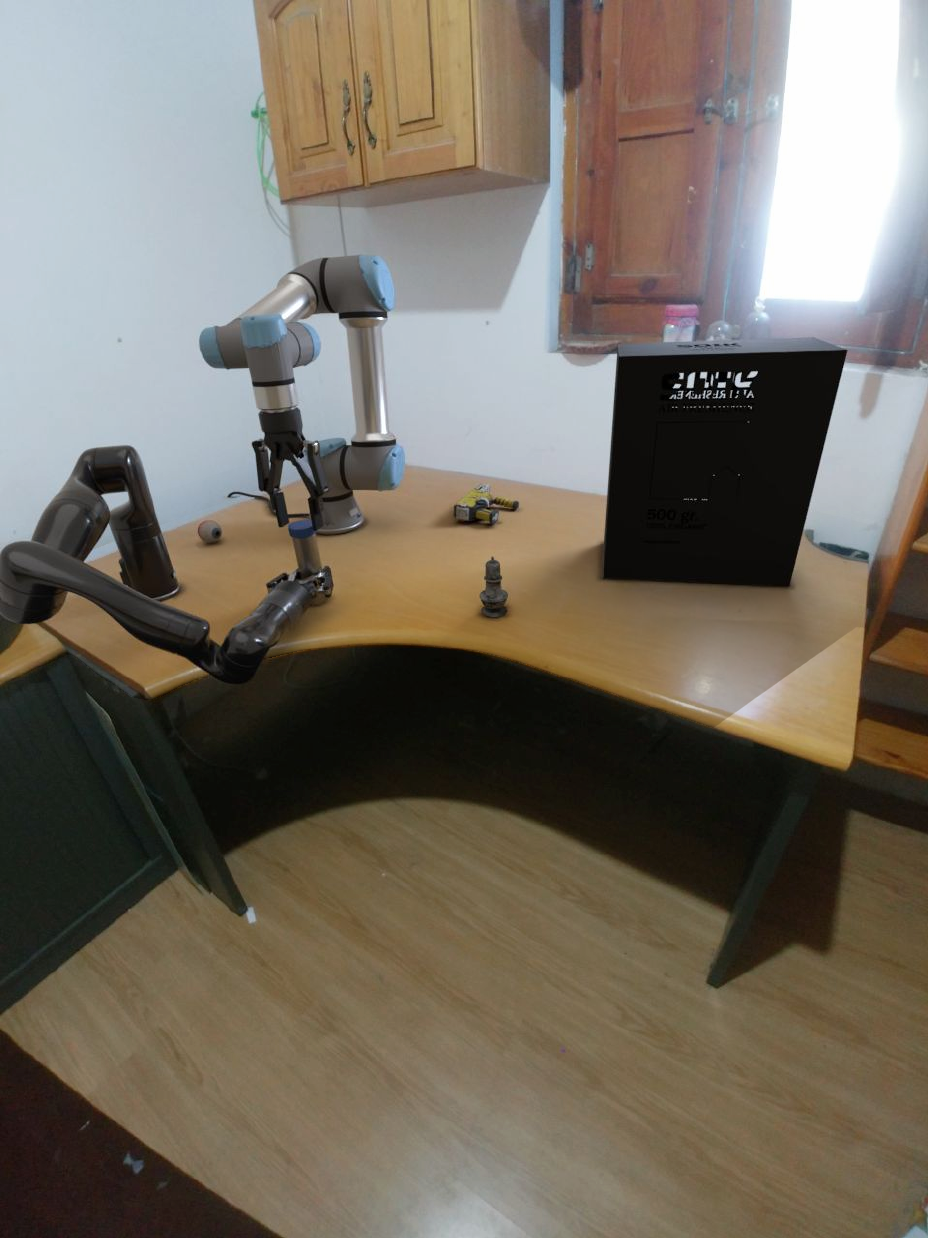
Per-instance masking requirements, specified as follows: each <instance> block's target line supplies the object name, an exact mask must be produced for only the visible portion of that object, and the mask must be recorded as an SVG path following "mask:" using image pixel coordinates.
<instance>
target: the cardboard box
mask: <svg viewBox="0 0 928 1238" xmlns="http://www.w3.org/2000/svg"><path fill="white" fill-rule="evenodd" d="M848 351H849V350H848V349H847V348H844V347H841V346H838V345H836V344H833V343H830V342H828V341H824V340H822V339H819V338H816V337H813V336H812V337H809V336H808V337H787V338H786V337H785V338H784V337H783V338H753V339H752V338H750V339H749V338H748V339H721V340H719V339H717V340H691V341H690V340H688V341H660V342H631V343H630V342H629V343H628V342H627V343H625V342H624V343H617V348H616V361H615V362H616V363H615V376H614V377H615V378H614V379H615V380H614V391H613V404H612V405H613V406H612V408H613V409H612V418H611V419H612V421H611V434H610V435H611V437H610V449H609V462H608V463H609V464H608V476H607V477H608V478H607V489H606V490H607V492H606V504H605V506H606V507H605V521H604V533H603V534H604V535H603V559H602V560H603V561H602V562H603V566H602V573H603V574H602V579H606V580H612V579H613V580H630V581H631V580H632V581H650V582H651V581H655V582H677V583H697V584H698V583H699V584H720V585H721V584H722V585H723V584H724V585H742V586H767V587H768V586H769V587H787V588H789V587H790V586H791V582H792V578H793V573H794V569H795V566H796V562H797V558H798V557H797V556H798V554H799V550H800V546H801V541H802V538H803V534H804V529H805V525H806V521H807V517H808V514H809V509H810V505H811V501H812V497H813V493H814V488H815V485H816V480H817V476H818V472H819V468H820V464H821V461H822V456H823V452H824V447H825V444H826V440H827V436H828V431H829V428H830V423H831V419H832V415H833V411H834V408H835V403H836V399H837V395H838V391H839V387H840V382H841V379H842V375H843V371H844V367H845V363H846V359H847V354H848ZM753 372H757V373H756V375H754V376H751V377H749V376H750V375H751V373H753ZM702 373H706V377H701V375H702ZM717 373H718V374H717ZM729 373H730V375H729ZM681 374H682V376H683V377H682V378H681ZM692 374H694V378H693V384H692V385H693V386H692V387H688V382H689V377H690V376H691V375H692ZM739 374H740V380H739V383H740V384H741V383H742V384H743V383H750V384H748V386H737V385H736V378H737V376H738V375H739ZM723 383H725V385H724V387H719V384H723ZM706 384H708V385H707V387H706ZM675 385H680V386H679V387H675Z"/></svg>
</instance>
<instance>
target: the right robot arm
mask: <svg viewBox="0 0 928 1238" xmlns="http://www.w3.org/2000/svg"><path fill="white" fill-rule="evenodd" d="M394 286H395V285H394V282H393V279H392V275H391V272H390V270H389V268H388V265H387V263H386V261H384V259H383V258H382V257H381V256H379V255H376V254H353V255H343V256H332V257H319V258H315V259H312V260H309V261H307V262H304V263H302V264H301V265H299V266H297V267H295V268H294V269H292V270H290V271H289V272H287V273H286V274H285V275H283V276H282V277H281V278H280V279H279V280H278V281H277V284H276V288H274V289H273V290H272V291H270V292H269V293H268V294H266V295H265V296H264V297H262V298H261V299H260V300H258V301H257V302H255V303H254V304H253V305H251V306H250V307H249V308H247V309H246V310H245V311H243V312H242V313H241V314H239V315H238V316H236V317H235V318H234V319H232V320H231V321H230V322H228V323H227V324H224V325H222V326H219V325H213V326H209V327H205V328H204V329H202V331H201V332H200V334H199V338H198V346H199V350H200V352H201V357H202V358H203V360H204V362H205V363H206V364H207V365H208V366H210V367H211V368H213V369H223V370H239V369H241V370H242V369H248V371H249V375H250V378H251V385H252V391H253V397H254V402H255V406H256V409H258V410H259V412H258V414H257V415H258V419H259V425H260V429H261V432H262V433H264V434H263V435H264V436H263V438H259V439H256V440H254V441H253V440H252V442H251V447H252V449H253V451H254V455H255V464H256V465H255V466H256V476H257V485H258V486H257V487H258V490H259V492H262V493H263V492H264V493H267V495H268V496H269V498H268V497H266V496H263V495H256V494H251V493H247V492H242V491H233V492H230V493H228V495H227V498H231V497H232V496H233V495H241V496H245V497H249V498H255V499H260V500H264V501H267V502H268V508H269V510H270V512H271V513H272V514H273V515H274V516H276V520H277V526H278V528H281V529H282V528H284V527H285V526H288V525H289V524H290V518H292V517H295V518H296V517H308V520H311V521H312V526H313V530H314V531H317V532H316V535H323V536H324V535H325V536H327V535H329V536H331V535H339V534H340V535H341V534H345V533H350V532H353V531H355V530H357V529H359V528H361V527H362V526H363V525H364V523H365V519H364V514H363V512H362V510H361V508H360V505H359V504H358V501H357V500H356V498H355V495H354V491H377V492H384V491H394V490H396V489H398V487H400V485H401V483H402V481H403V478H404V475H405V469H406V468H405V467H406V453H405V449H404V447H403V446H402V445H401V444H397V437H396V435H394V433H393V432H391V429H390V419H389V418H390V417H389V406H388V405H389V404H388V392H387V376H386V363H385V349H384V337H383V336H384V335H383V328H384V325H385V324H386V323H387V322H388V317H389V316H388V313H389V312H391V311H393V310H394V308H395V301H396V294H395V293H396V292H395V288H394ZM319 314H338V322H339V323H340V324H341V325H342V326H343V327H344V328H345V329H346V330H345V331H346V343H347V350H348V361H349V372H350V383H351V394H352V403H353V414H354V415H353V416H354V424H355V433H354V435H353V436H352V437H351V438H350V444H347V441H346V439H345V438H343V437H331V438H325V439H322V440H314V441H312V440H308V439H306V437H305V435H304V433H303V429H304V425H303V418H302V413H301V409H299V407H298V406H299V397H298V392H297V385H296V380H295V373H294V369H295V368H298V367H306V366H308V365H310V364H311V363H314V362H315V361H316V360H317V359H318V358H319V356H320V353H321V350H322V349H321V348H322V343H321V339H320V336H319V334H318V332H317V331H316V329H315V328H314V327H313V326H311V325H310V324H308V323H306V322H301V321H300V320H307V319H308V318H310V317H311V316H313V315H319ZM269 451H270V455H269ZM285 461H288V462H290V463H291V465H292V466H293V467H295V469H296V471H297V472H298V475H299V477H300V478H301V480H302V482H303V485H304V486H305V488H306V490H307V492H308V494H309V497H308V498H307V503H308V508H309V513H308V512H307V513H304V512H303V513H302V512H301V513H288V509H287V504H286V498H285V494H284V491H282V488H280V487H281V481H282V474H283V468H284V463H285Z"/></svg>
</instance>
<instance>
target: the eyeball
mask: <svg viewBox="0 0 928 1238" xmlns="http://www.w3.org/2000/svg"><path fill="white" fill-rule="evenodd" d="M222 534H223V529H222V527H221V525H220V524H219V523H218V522H217V521H215V520H212V519H207V520H204V521H202V522H201V523H200V524H199V525H198V527H197V535H198V538H199V539H201V540H202V541H203V542H205V543H208V544H213V543H216V542H218V541H219V540H220V539H221V538H222Z"/></svg>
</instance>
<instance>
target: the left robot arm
mask: <svg viewBox="0 0 928 1238" xmlns="http://www.w3.org/2000/svg"><path fill="white" fill-rule="evenodd" d="M118 493H127V496H128V500H127V501H125V502H124V503H122V504H120V505H118V506H116V507H114V508H112V509H110V507H109V505H108V503H107V501H106V500H105V498H104V496H103V495H109V494H118ZM157 516H158V515H157V513H156V510H155V505H154V500H153V497H152V494H151V490H150V487H149V484H148V479H147V474H146V471H145V467H144V464H143V460H142V458H141V455H140V454H139V451H137V450H136V448H135V447H134V446H132V445H131V444H130V445H128V444H120V445H107V446H97V447H91V448H87V449H85V450H84V451H83V452H82V453H81V454H80V455H79V456H78V458H77V461H76V462H75V465H74V466H73V469H72V471H71V473H70V475H69V477H68V478H67V480H66V481H65V483H64V484H63V486H62V487H61V489H59V491H58V493H57V494H55V496H54V497H53V498H52V499H51V500H50V502H49V503H48V504H47V505H46V507H45V508H44V510H43V512H42V513H41V515H40V517H39V519H38V521H37V523H36V526H35V528H34V531H33V532H32V533H33V534H32V536H31V538H30V540H18V541H14V542H11V543H8V544H6V545H5V546H4V547H3V548H2V549H1V550H0V616H1V617H2V618H4V619H6V620H7V621H9V622H11V623H14V624H18V625H19V624H20V625H34V624H39V623H43V622H46V621H49V620H50V619H52V618H53V617H55V616H56V615H57V614H58V613H60V611H61V610H62V608H63V607H64V605H65V601H66V599H67V596H68V592H69V593H71V594H74V595H77V596H79V597H82V598H84V599H86V600H88V601H89V602H91V603H93V604H94V605H95V606H97V607H99V608H100V609H101V610H103V611H104V612H105V613H106V614H107V615H109V616H110V617H111V618H112V619H113V620H114V621H115V622H116V623H117V624H118V625H119V626H121V628H123V629H124V630H125V632H127V633H129V634H130V636H131V637H134V638H135V639H136V640H138V641H140V643H143V644H145V645H147V646H150V647H152V648H154V649H157V650H161V651H164V652H166V653H170V654H172V655H176V656H178V657H181V658H183V659H185V660H187V661H189V662H191V664H193V665H194V666H196V667H197V668H199V669H201V670H202V671H203V672H205V673H207V674H208V675H209V676H211V677H213V678H214V679H216V680H218V681H219V682H222V683H225V684H229V685H242V684H247V683H248V682H250V681H251V680H252V679H253V678H254V677H255V675H256V674H257V671H258V670H259V668H260V666H261V664H262V662H263V661H264V659H265V657H266V656H267V654H268V652H269V651H270V649H271V648H273V647H275V646H276V645H278V643H279V642H280V641H281V640H282V639H283V638H284V637H285V635H286V634H287V633H288V632H289V631H290V630H292V628H294V626H295V625H296V624H297V623H298V622H299V621H300V619H301V618H302V617H303V616H304V614H305V613H306V612H307V610H308V609H309V608H310V606H311V605H310V603H311V600H312V599H314V598H316V597H317V595H325V597H326V598H328V599H329V598H331V597H332V594H333V590H334V588H335V587H334V586H335V585H334V581H333V574H332V569H331V567H330V566H329V565H324V567H322V570H321V572H320V573H319V574H318V575H316V576H314V575H312V576H310V577H309V578H307V579H305V580H301V578H300V573H299V569H298V567H297V568H296V569H295V570H294V571H291V572H289V573H290V574H288V573H287V572H282V573H280V574H279V575H278V576H276V577H274V578H273V579H271V580H270V581H268V582H267V583H265V586H266V590H267V594H266V595H265V596H264V598H263V599H262V600H261V601H260V602H259V604H258V606H256V608H254V610H253V611H252V612H251V613H250V614H249V615H248V616H247V617H245V618H243V619H241V620H240V621H239V622H237V623H235V625H234V626H233V627H232V628H231V629H230V630H229V631H228V633H226V635H225V637H224V639H223V641H222V643H221V644H219V643H218V642H216V641H215V640H213V638H211V636H210V633H211V624H210V623H209V621H208V620H206V619H205V618H203V617H200V616H198V615H196V614H192V613H190V612H187V611H184V610H182V609H179V608H176V607H174V606H172V605H168V604H166V603H164V602H161V601H164V600H167V599H170V598H173V597H174V596H176V595H177V594H178V593H179V592H180V591H181V586H180V583H179V582H178V578H177V573H178V571H177V569H176V568H174V565H173V564H172V562H173V561H172V560H171V556H170V553H169V550H168V547H167V544H166V540H165V538H164V534H163V532H162V529H161V526H160V522H159V519H158V517H157ZM108 526H109V528H110V531H111V533H112V536H113V540H114V541H115V544H116V547H117V549H118V552H119V556H120V558H119V559H118V564H119V567H120V569H121V571H119V572H118V574H119V577H120V579H121V581H119V580H118V579H116V578H114V577H112V576H110V575H108V574H107V573H105V572H103V571H101V570H99V569H98V568H95V567H94V566H92V565H90V564H88V563H86V562H85V561H86V559H87V558H88V557H89V556H90V554H91V552H92V551H93V550H94V548H95V547H96V545H97V544H98V542H99V541H100V539H101V538H102V536H103V535H104V533H105V532H106V529H107V528H108ZM319 579H320V583H319Z"/></svg>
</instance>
